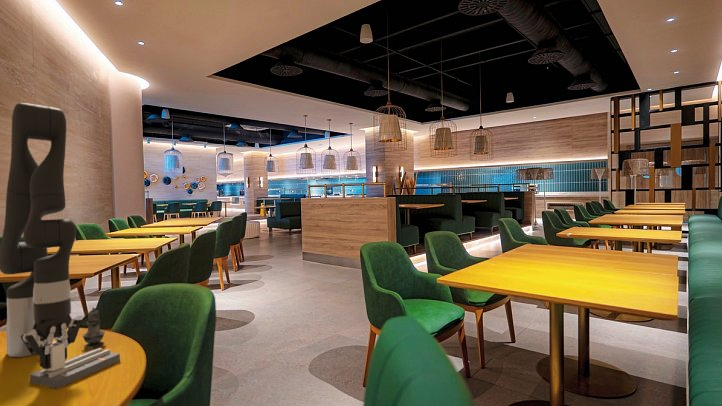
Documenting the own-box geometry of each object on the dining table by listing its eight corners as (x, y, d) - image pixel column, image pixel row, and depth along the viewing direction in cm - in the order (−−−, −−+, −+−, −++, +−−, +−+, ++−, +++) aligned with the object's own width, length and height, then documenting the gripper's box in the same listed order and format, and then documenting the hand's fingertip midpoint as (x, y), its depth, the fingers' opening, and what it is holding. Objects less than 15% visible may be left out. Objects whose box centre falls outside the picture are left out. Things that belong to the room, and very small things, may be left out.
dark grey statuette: (93, 349, 121) (93, 310, 121) (77, 348, 122) (77, 309, 122) (109, 342, 127) (109, 305, 127) (94, 341, 128) (93, 304, 128)
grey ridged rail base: (29, 382, 100) (29, 370, 100) (94, 356, 116) (94, 345, 116) (57, 388, 97) (57, 376, 97) (119, 360, 113) (119, 350, 113)
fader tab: (42, 373, 100) (42, 345, 100) (55, 368, 103) (54, 341, 103) (52, 375, 99) (52, 347, 99) (65, 370, 102) (64, 342, 102)
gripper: (70, 290, 108) (71, 352, 109) (10, 304, 95) (12, 375, 95) (89, 292, 106) (91, 356, 106) (31, 307, 93) (33, 379, 93)
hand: (53, 364), depth 101 cm, fingers closed on fader tab, 3 cm apart
